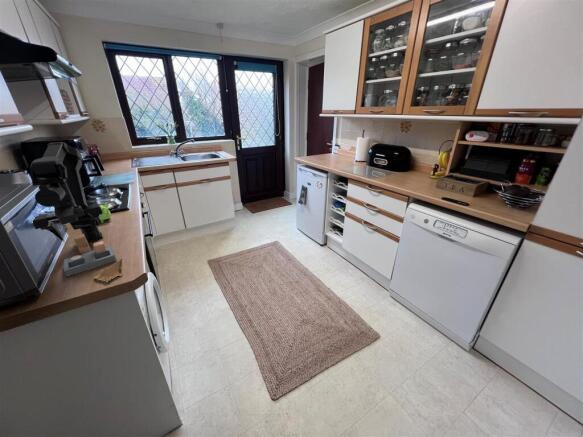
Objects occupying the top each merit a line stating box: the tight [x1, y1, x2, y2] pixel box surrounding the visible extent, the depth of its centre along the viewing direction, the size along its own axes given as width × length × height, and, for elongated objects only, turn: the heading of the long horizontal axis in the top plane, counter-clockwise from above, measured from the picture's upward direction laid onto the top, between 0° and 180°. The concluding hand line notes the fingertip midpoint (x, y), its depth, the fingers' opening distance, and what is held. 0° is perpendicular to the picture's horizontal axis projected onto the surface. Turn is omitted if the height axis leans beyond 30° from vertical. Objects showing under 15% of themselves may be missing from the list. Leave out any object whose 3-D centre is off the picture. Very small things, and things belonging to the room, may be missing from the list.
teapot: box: [99, 202, 112, 224], centre depth 119 cm, size 11×12×8 cm
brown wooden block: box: [73, 233, 92, 255], centre depth 91 cm, size 3×3×8 cm
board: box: [63, 240, 117, 277], centre depth 86 cm, size 9×14×6 cm, turn 131°
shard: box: [93, 258, 123, 282], centre depth 82 cm, size 11×8×2 cm
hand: (78, 235), depth 89 cm, fingers open, 9 cm apart
